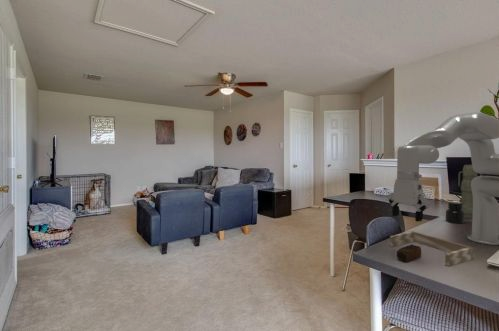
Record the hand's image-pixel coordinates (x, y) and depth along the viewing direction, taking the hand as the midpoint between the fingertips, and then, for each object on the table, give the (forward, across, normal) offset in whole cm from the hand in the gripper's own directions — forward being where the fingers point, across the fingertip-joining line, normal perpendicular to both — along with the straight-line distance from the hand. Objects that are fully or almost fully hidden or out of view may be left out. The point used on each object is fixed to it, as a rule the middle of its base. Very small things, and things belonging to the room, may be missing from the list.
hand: (406, 218), depth 105 cm
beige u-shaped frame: (+16, 0, -15) cm, 22 cm away
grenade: (+17, +26, -102) cm, 106 cm away
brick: (+17, -1, 0) cm, 17 cm away
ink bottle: (+17, +23, -80) cm, 85 cm away
